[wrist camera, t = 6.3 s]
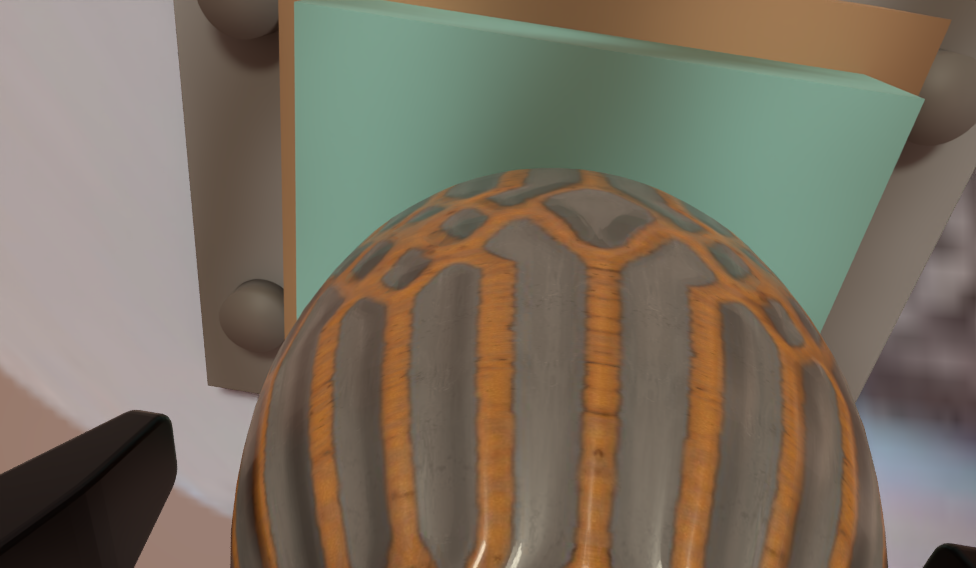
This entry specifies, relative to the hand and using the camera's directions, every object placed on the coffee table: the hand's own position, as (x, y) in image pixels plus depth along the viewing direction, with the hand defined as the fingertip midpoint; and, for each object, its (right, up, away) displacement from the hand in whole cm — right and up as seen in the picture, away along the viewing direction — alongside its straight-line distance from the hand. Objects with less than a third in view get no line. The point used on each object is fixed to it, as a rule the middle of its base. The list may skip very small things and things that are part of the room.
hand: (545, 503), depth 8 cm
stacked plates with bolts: (+1, +5, +9) cm, 10 cm away
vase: (0, +2, +4) cm, 4 cm away
